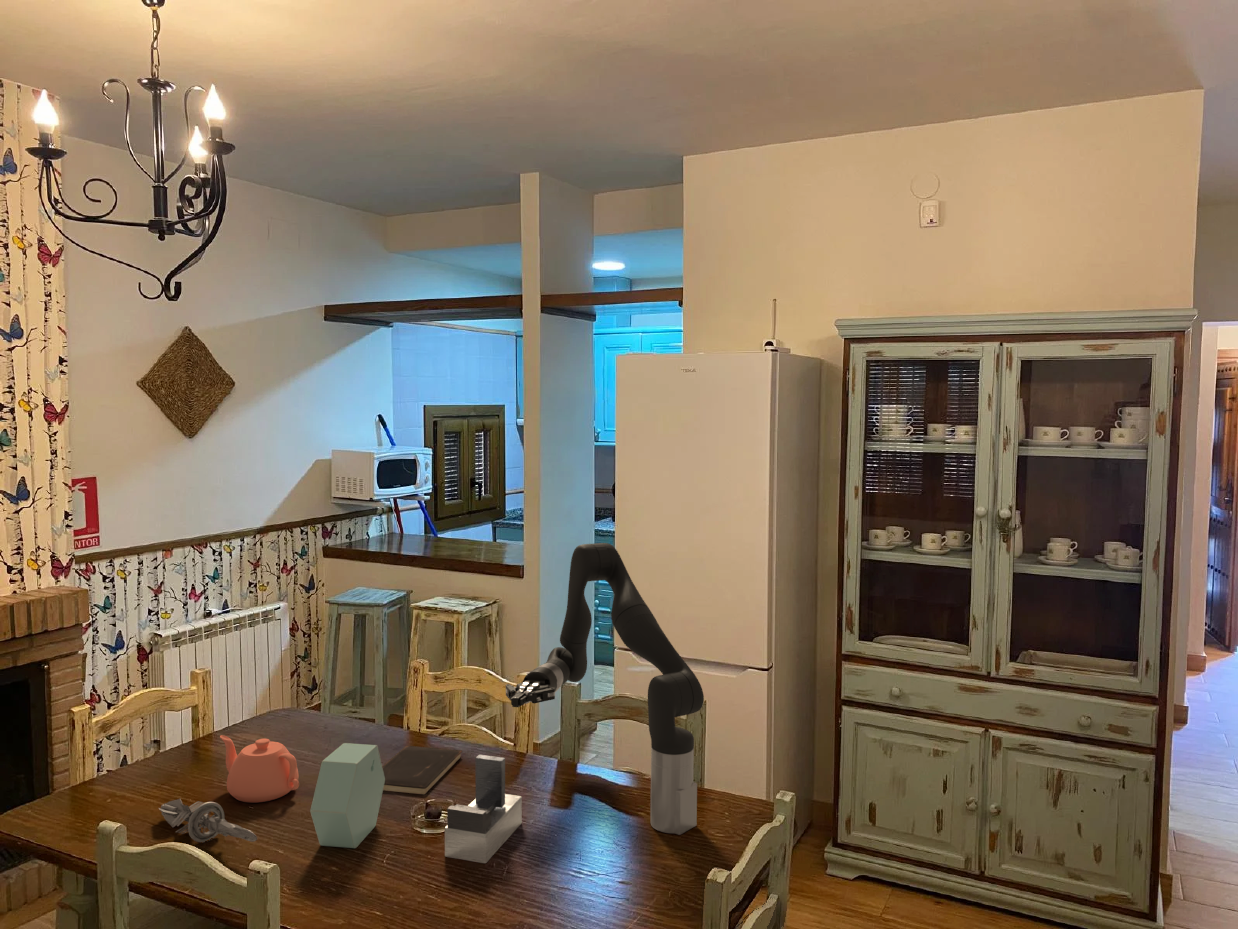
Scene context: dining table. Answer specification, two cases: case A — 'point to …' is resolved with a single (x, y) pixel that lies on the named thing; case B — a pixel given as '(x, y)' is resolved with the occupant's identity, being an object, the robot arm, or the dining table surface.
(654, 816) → the robot arm
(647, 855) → the dining table surface
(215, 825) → the spaceship
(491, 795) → the dark grey tapered block
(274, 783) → the teapot
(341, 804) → the mint hexagonal prism
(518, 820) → the white rectangular holder
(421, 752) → the hardcover book
